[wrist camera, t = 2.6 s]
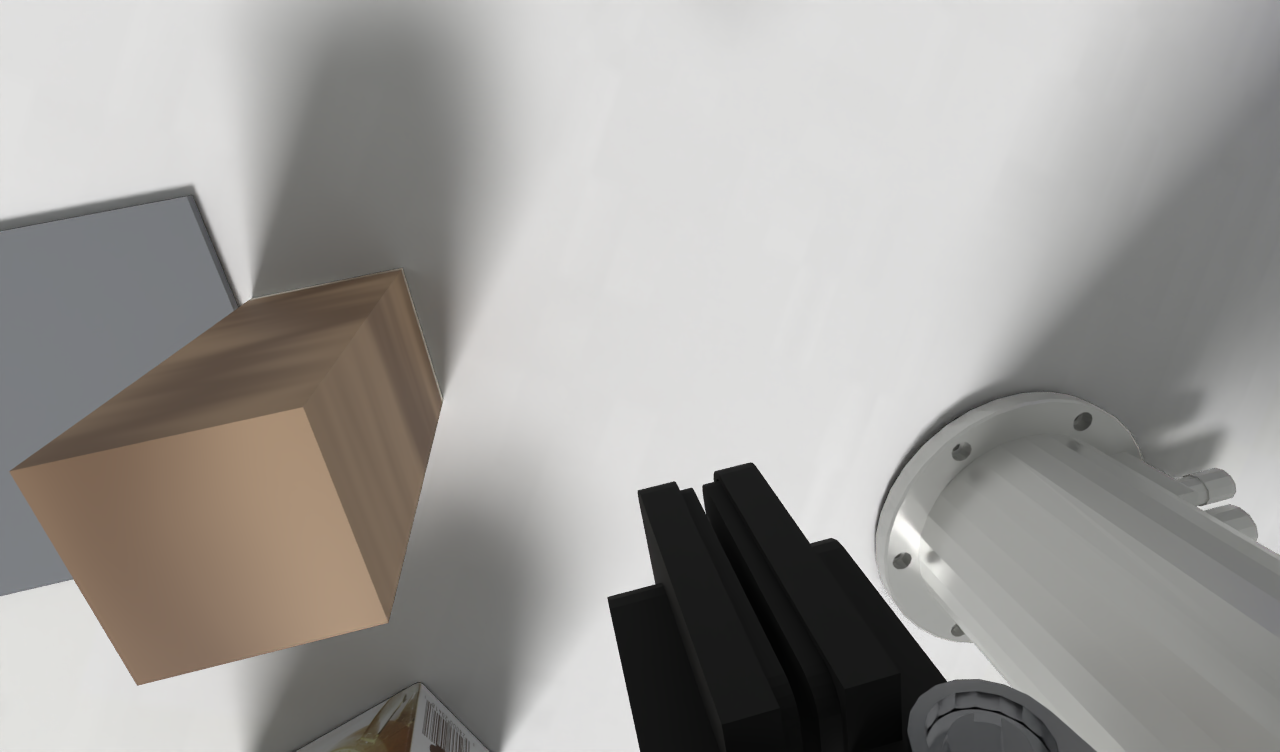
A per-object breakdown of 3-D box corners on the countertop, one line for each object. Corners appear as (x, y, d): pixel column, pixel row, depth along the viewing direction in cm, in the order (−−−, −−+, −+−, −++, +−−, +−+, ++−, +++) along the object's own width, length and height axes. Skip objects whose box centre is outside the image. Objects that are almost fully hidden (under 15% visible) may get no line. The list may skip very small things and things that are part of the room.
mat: (192, 194, 22) (186, 196, 21) (323, 515, 26) (320, 521, 26) (-377, 301, 20) (-393, 305, 20) (-132, 621, 25) (-142, 629, 24)
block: (402, 267, 23) (302, 407, 12) (443, 399, 25) (388, 622, 14) (251, 298, 23) (9, 471, 12) (304, 430, 25) (137, 685, 14)
